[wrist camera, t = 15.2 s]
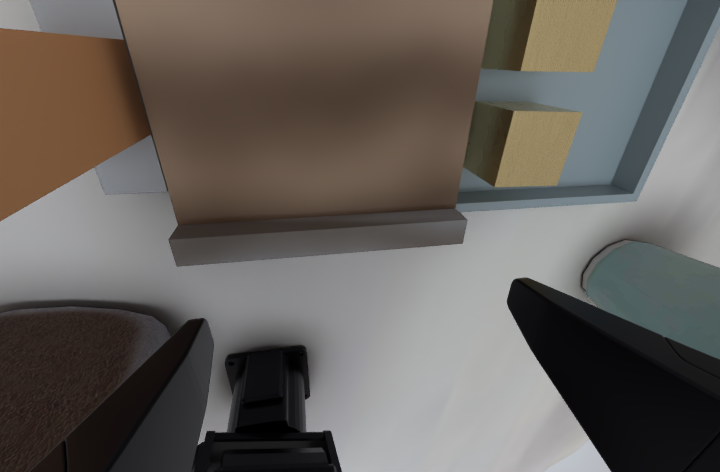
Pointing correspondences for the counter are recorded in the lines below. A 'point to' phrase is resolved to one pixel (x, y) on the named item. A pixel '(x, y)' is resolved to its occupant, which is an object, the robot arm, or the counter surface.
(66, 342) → the dark brown rounded block
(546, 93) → the slate tray
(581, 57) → the brass block
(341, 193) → the railed tan board
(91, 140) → the brown and grey block
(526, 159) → the brass block
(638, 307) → the disposable coffee cup
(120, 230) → the counter surface
